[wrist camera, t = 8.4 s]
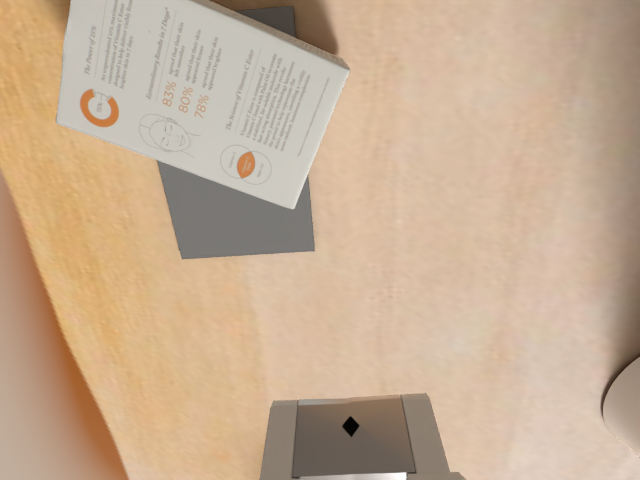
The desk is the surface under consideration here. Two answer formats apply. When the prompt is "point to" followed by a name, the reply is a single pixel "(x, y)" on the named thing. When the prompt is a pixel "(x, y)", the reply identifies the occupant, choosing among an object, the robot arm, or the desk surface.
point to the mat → (236, 200)
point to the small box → (199, 91)
